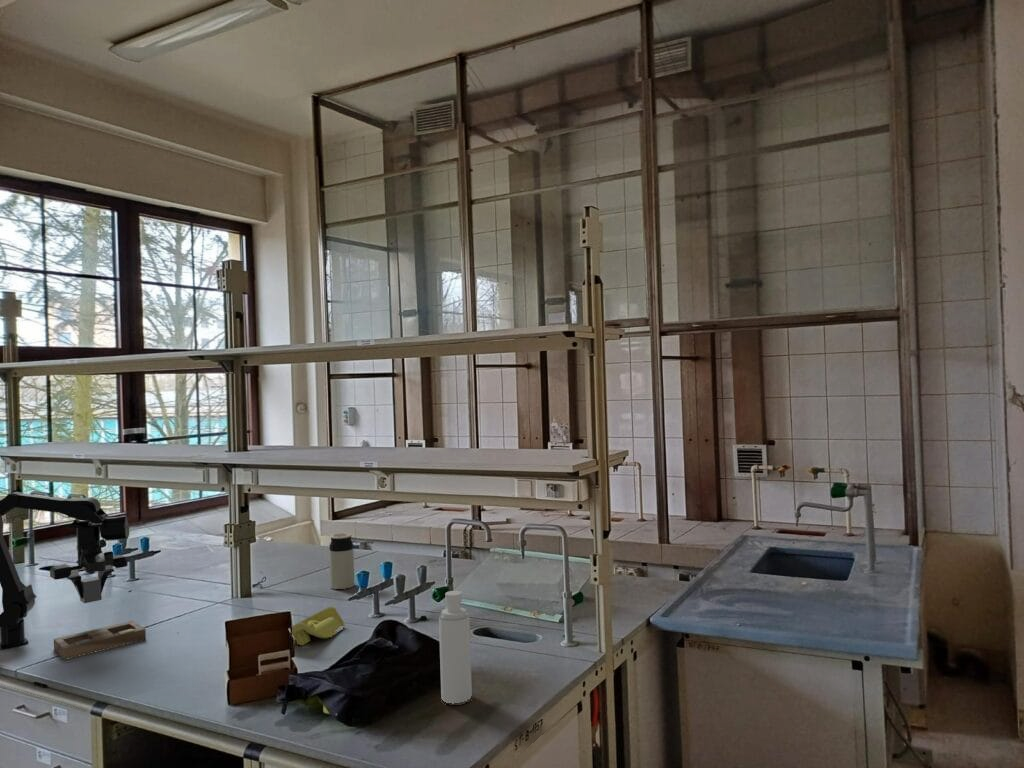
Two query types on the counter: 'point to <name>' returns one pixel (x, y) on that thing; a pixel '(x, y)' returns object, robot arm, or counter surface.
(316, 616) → the plastic component
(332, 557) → the travel mug
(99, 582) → the plug
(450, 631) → the white bottle
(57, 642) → the socket bar
